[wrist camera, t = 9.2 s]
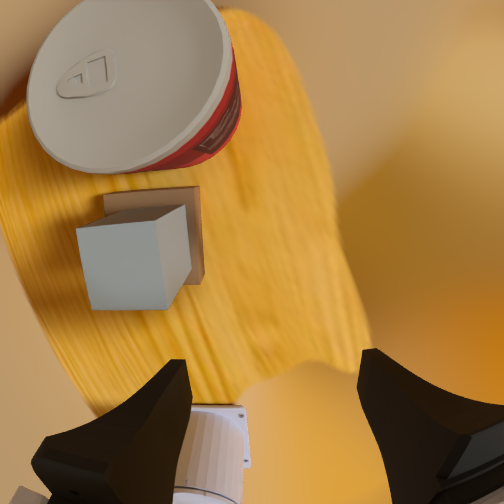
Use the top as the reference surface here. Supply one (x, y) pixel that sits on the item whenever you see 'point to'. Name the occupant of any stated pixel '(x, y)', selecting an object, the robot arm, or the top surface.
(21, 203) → the top surface
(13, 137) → the top surface
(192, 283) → the walnut block
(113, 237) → the grey block
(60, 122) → the canned food
